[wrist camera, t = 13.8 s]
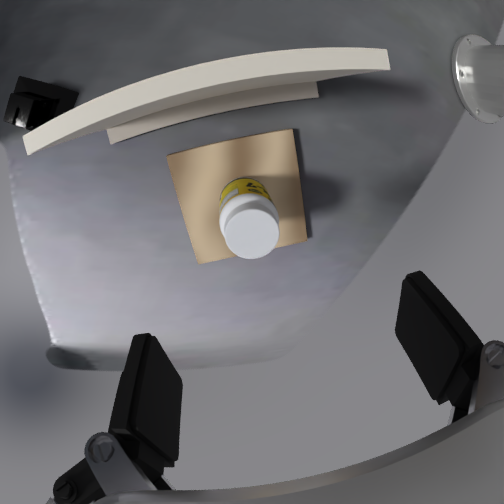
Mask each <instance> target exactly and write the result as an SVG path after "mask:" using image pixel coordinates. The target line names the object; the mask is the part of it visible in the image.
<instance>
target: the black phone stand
mask: <svg viewBox="0 0 504 504" xmlns="http://www.w3.org/2000/svg"><path fill="white" fill-rule="evenodd" d="M78 95H79V93H78V92H75V91H72V90H69V89H66V88H62V87H59V86H55V85H52V84H48V83H45V82H41V81H37V80H34V79H30V78H26V77H22V76H19V78H18V81H17V84H16V87H15V90H14V93H11V94H10V98H9V101H8V105H7V108H6V112H5V116H4V120H3V121H5V122H8V123H10V124H13V125H16V126H19V127H22V128H25V129H28V130H30V131H32V130H34V129H36V128H38V127H39V126H41V125H43V124H45V123H47V122H48V121H50V120H52V119H54V118H56V117H58V116H60V115H62V114H64V113H66V112H68V111H70V110H72V109H73V108H74V105H75V102H76V100H77V97H78Z"/></svg>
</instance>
